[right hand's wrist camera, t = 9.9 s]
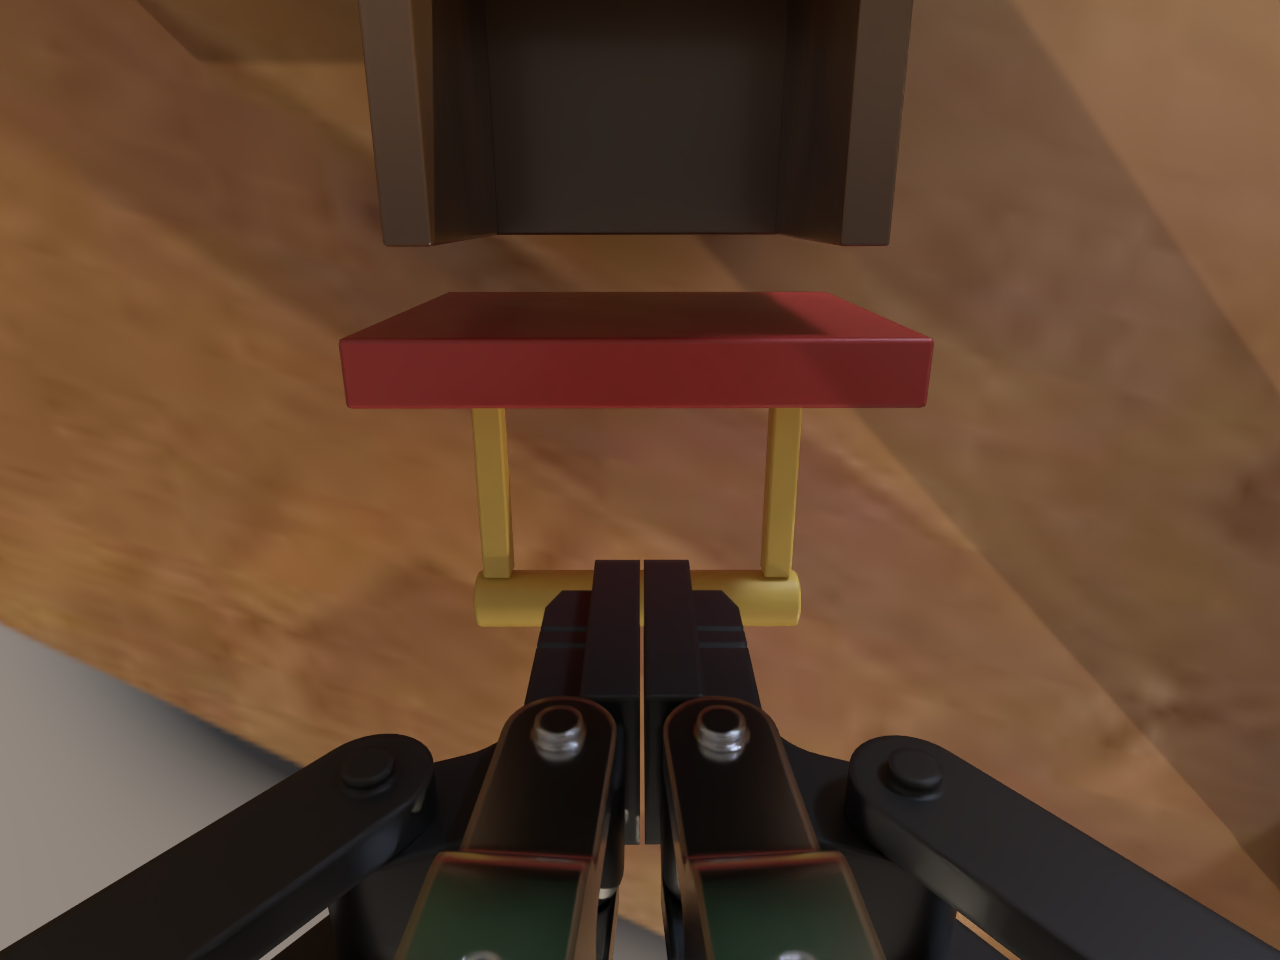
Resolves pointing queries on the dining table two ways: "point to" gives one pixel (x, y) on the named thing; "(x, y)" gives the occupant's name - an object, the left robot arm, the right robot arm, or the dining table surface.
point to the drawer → (635, 228)
